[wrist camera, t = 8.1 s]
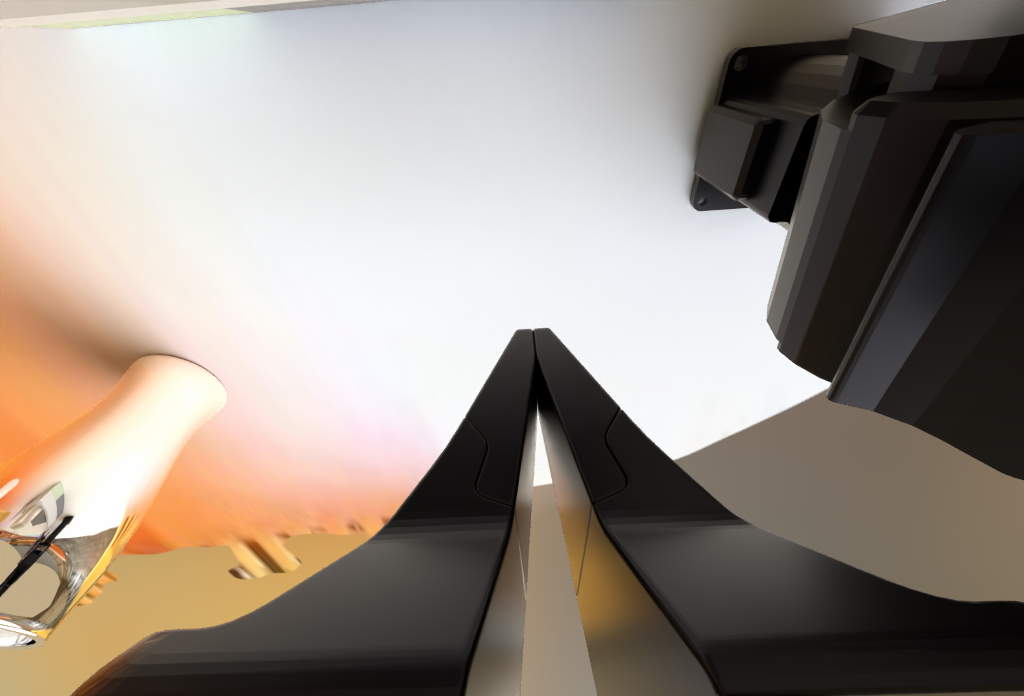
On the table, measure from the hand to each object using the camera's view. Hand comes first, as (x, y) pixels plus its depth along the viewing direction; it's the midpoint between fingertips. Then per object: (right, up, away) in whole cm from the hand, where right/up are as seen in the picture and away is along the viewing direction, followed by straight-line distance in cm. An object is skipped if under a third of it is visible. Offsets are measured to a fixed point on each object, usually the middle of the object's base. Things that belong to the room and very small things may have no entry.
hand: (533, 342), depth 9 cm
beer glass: (-25, -3, +18) cm, 31 cm away
